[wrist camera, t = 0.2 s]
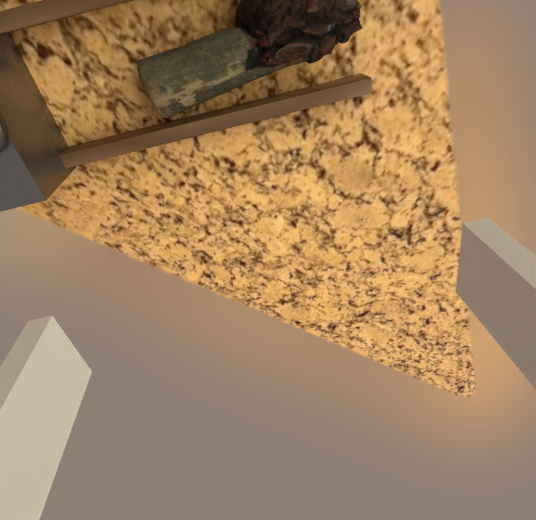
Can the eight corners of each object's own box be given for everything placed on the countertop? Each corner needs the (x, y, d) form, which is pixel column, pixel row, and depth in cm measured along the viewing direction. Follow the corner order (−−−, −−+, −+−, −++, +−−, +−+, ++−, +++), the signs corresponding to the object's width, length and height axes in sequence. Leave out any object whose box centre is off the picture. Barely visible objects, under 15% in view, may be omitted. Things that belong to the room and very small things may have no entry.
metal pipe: (169, 113, 35) (160, 129, 30) (131, 33, 32) (114, 37, 27) (354, 40, 33) (375, 45, 29) (337, -54, 30) (358, -66, 25)
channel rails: (0, 15, 30) (-17, 15, 28) (352, -78, 29) (362, -85, 27) (74, 159, 36) (65, 168, 34) (363, 87, 35) (372, 92, 33)
